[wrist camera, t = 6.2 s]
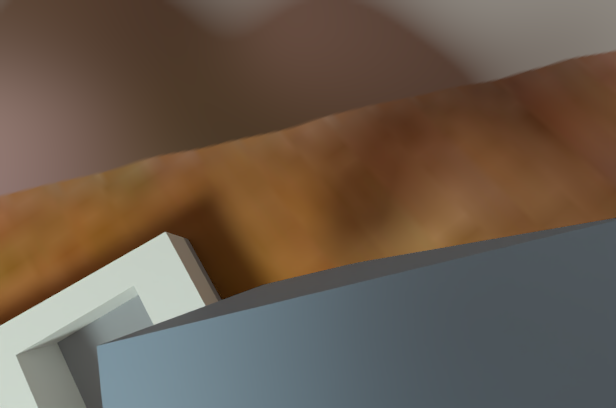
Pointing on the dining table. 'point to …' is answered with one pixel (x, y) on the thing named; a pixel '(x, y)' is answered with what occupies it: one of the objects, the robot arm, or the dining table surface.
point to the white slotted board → (96, 323)
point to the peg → (395, 334)
